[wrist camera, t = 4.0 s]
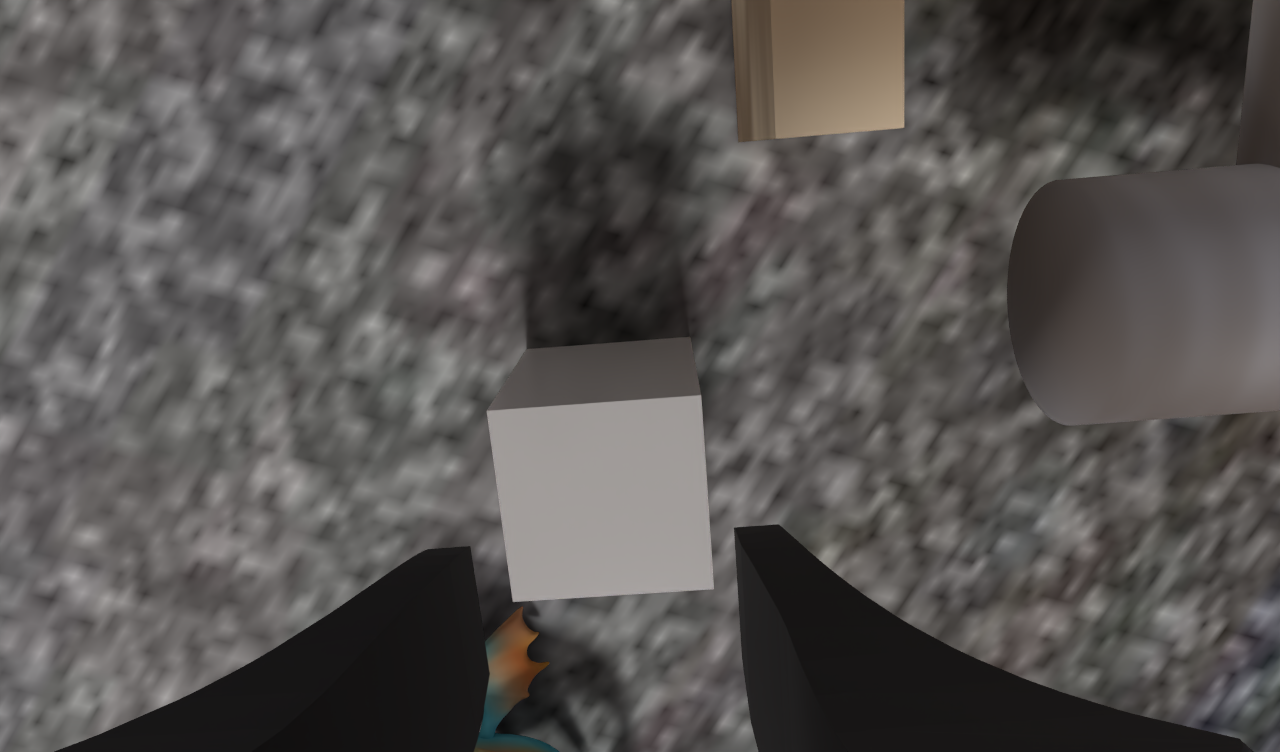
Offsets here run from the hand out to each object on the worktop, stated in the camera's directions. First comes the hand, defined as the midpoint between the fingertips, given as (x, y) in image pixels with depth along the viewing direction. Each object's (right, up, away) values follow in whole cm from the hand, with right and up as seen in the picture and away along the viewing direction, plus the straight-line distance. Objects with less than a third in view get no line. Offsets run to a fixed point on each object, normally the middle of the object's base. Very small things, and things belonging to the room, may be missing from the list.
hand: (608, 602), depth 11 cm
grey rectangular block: (0, +2, +9) cm, 10 cm away
